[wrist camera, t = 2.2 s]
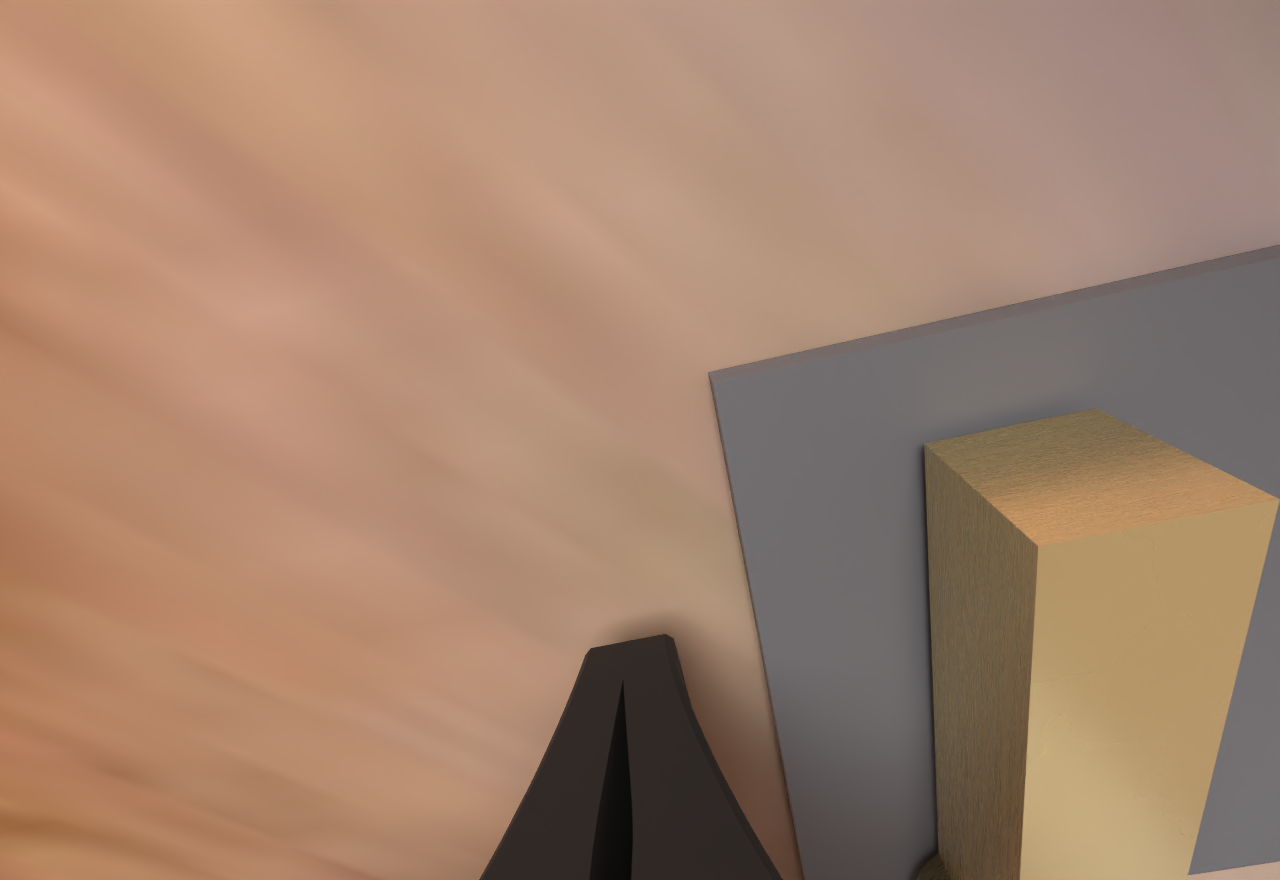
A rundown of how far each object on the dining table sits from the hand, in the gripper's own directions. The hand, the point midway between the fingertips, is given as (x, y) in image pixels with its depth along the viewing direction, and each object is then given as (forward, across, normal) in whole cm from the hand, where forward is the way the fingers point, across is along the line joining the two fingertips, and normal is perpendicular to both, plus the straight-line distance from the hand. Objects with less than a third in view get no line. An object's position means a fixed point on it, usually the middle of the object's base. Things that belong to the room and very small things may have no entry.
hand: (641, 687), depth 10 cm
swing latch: (+1, -6, +3) cm, 7 cm away
